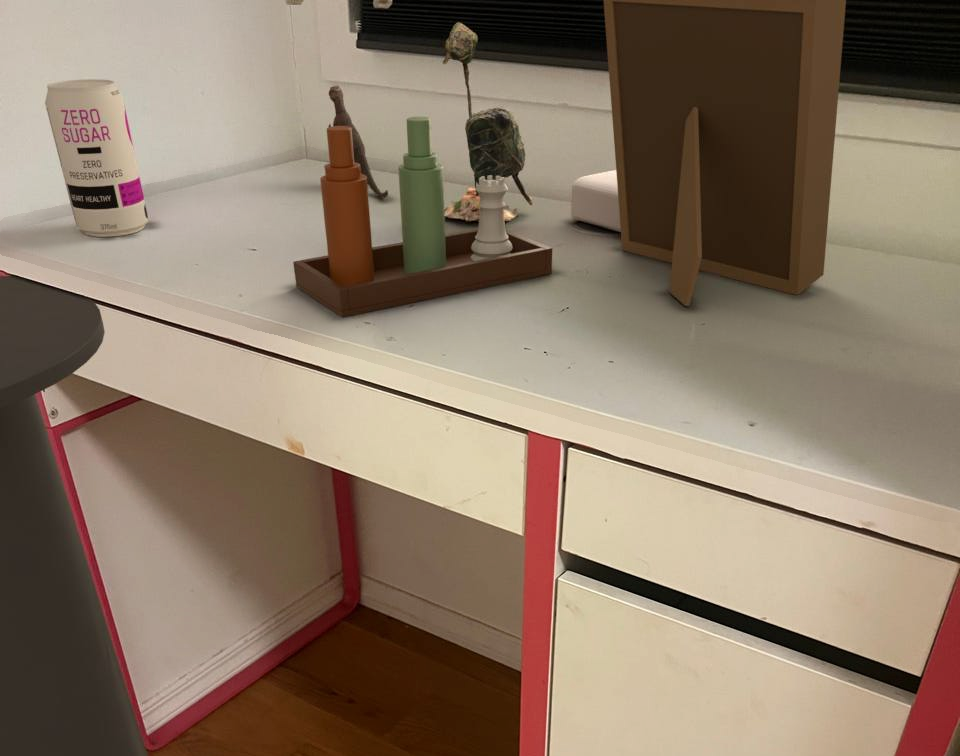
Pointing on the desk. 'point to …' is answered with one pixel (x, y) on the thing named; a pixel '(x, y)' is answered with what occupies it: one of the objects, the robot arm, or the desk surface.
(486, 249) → the rook chess piece
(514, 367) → the desk surface
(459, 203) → the plant with pod
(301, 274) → the tray
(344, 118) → the dinosaur model
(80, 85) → the supplement can
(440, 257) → the sage bottle
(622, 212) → the photo frame
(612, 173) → the charger
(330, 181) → the amber bottle
